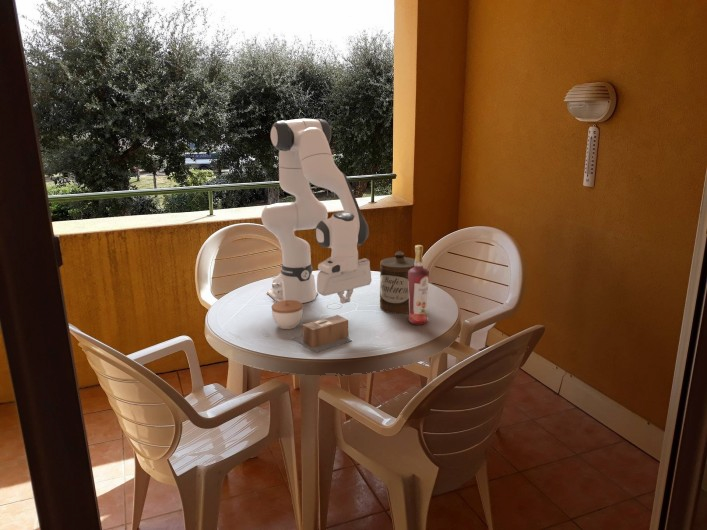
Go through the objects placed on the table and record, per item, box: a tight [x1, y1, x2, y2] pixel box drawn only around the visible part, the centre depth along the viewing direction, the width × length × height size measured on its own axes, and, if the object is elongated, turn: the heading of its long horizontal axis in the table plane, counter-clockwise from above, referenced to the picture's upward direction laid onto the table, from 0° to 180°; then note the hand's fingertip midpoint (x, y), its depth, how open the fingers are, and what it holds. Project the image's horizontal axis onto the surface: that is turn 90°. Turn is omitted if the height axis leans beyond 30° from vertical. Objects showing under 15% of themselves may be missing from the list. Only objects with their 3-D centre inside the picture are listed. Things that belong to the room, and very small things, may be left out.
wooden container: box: [379, 251, 415, 315], centre depth 210 cm, size 15×15×22 cm
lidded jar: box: [271, 300, 303, 330], centre depth 195 cm, size 11×11×9 cm
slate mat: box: [292, 334, 353, 353], centre depth 184 cm, size 14×14×1 cm
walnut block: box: [302, 314, 350, 348], centre depth 183 cm, size 6×6×14 cm
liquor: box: [407, 244, 430, 326], centre depth 194 cm, size 7×7×28 cm
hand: (345, 302), depth 186 cm, fingers closed
